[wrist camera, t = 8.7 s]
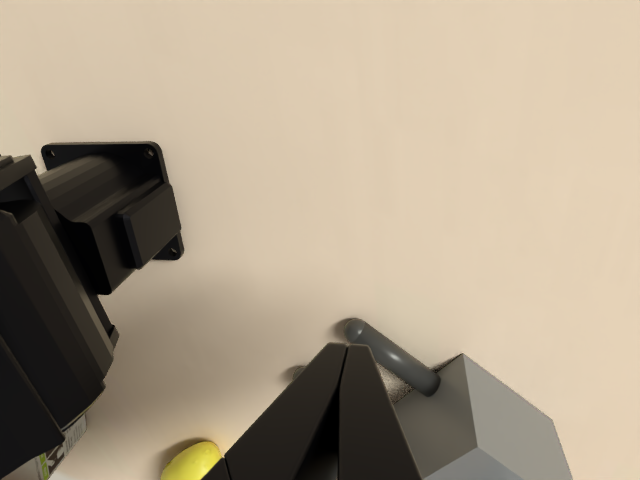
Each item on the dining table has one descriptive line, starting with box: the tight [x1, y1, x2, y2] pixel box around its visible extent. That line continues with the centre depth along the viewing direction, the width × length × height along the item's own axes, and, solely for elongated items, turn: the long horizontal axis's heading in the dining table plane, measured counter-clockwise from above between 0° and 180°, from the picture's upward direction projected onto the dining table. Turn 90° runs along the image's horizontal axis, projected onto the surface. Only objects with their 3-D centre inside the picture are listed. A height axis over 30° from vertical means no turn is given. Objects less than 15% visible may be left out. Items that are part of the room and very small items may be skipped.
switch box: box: [293, 319, 573, 480], centre depth 24 cm, size 13×10×8 cm
